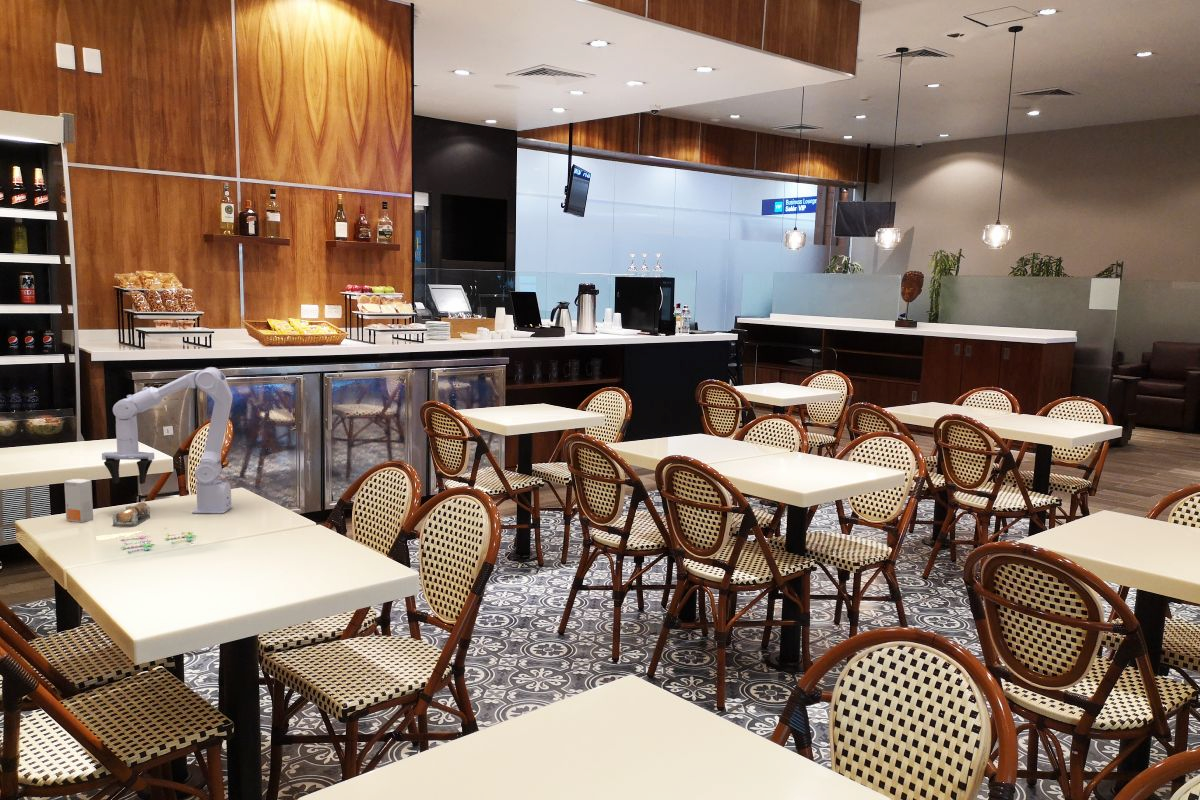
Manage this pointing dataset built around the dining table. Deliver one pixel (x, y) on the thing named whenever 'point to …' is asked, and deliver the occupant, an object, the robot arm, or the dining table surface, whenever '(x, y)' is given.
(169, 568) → the dining table surface
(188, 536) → the clear flat square panel
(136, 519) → the cradle
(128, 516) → the tube
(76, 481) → the skincare box
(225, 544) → the dining table surface
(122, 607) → the dining table surface
